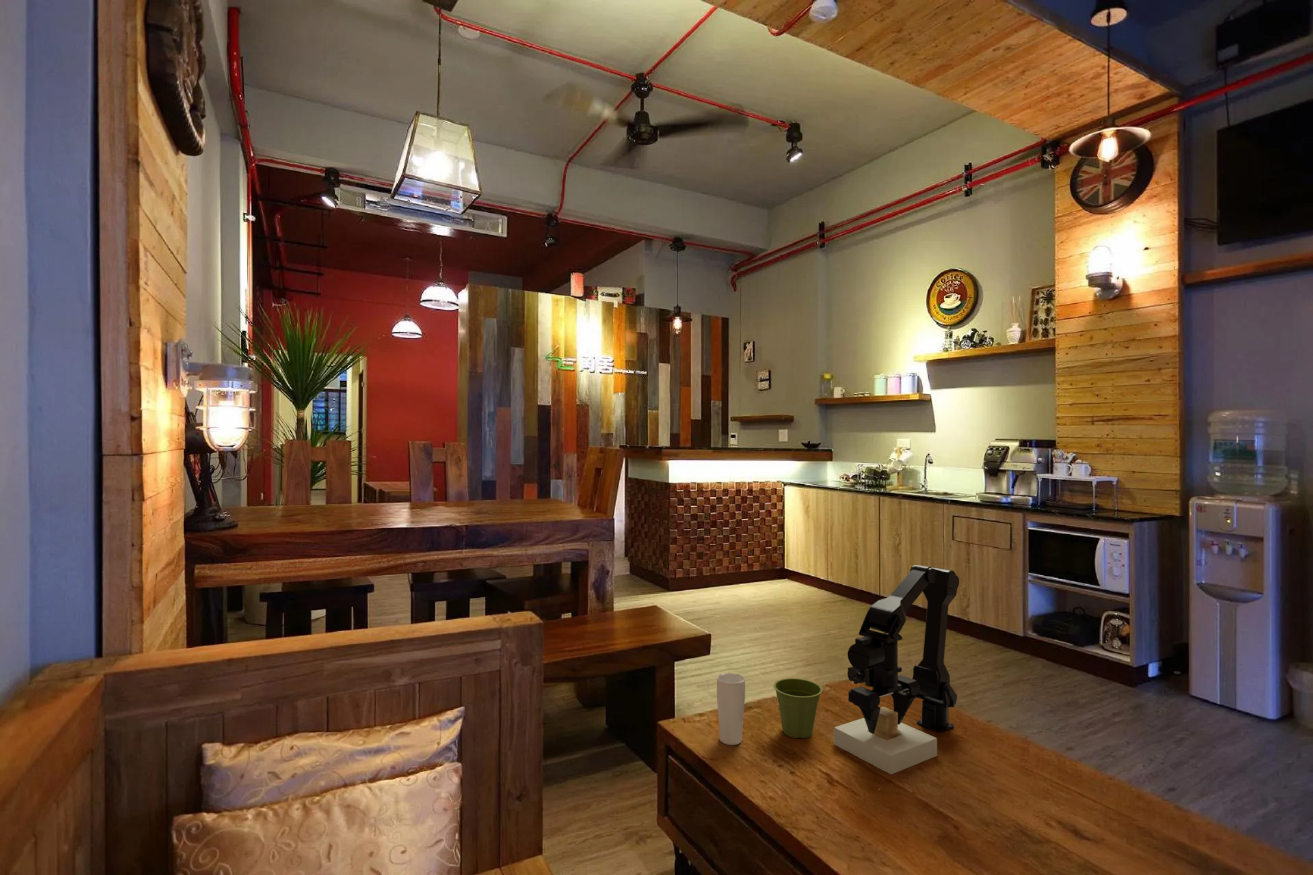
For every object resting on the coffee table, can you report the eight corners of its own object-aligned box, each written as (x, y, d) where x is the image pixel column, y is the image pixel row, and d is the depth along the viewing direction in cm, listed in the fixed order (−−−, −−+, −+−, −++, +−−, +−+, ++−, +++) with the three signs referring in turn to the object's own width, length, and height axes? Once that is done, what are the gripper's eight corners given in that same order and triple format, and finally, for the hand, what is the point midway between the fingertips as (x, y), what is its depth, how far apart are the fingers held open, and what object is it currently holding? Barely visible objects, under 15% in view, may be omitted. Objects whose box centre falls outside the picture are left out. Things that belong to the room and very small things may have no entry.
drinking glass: (744, 735, 153) (744, 673, 154) (745, 748, 147) (745, 683, 147) (716, 733, 154) (716, 672, 154) (716, 746, 147) (716, 682, 148)
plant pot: (768, 738, 152) (768, 691, 152) (778, 718, 163) (778, 675, 163) (818, 747, 147) (818, 699, 147) (825, 727, 158) (825, 682, 158)
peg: (883, 744, 149) (883, 706, 149) (897, 751, 146) (897, 712, 146) (872, 748, 147) (872, 710, 147) (886, 755, 143) (886, 716, 144)
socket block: (879, 728, 157) (879, 712, 157) (936, 755, 144) (936, 738, 144) (834, 744, 149) (834, 727, 149) (890, 774, 135) (890, 755, 135)
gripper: (882, 645, 158) (882, 707, 158) (830, 657, 149) (830, 724, 148) (921, 657, 149) (921, 724, 149) (868, 672, 139) (868, 743, 139)
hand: (884, 728), depth 146 cm, fingers open, 9 cm apart
